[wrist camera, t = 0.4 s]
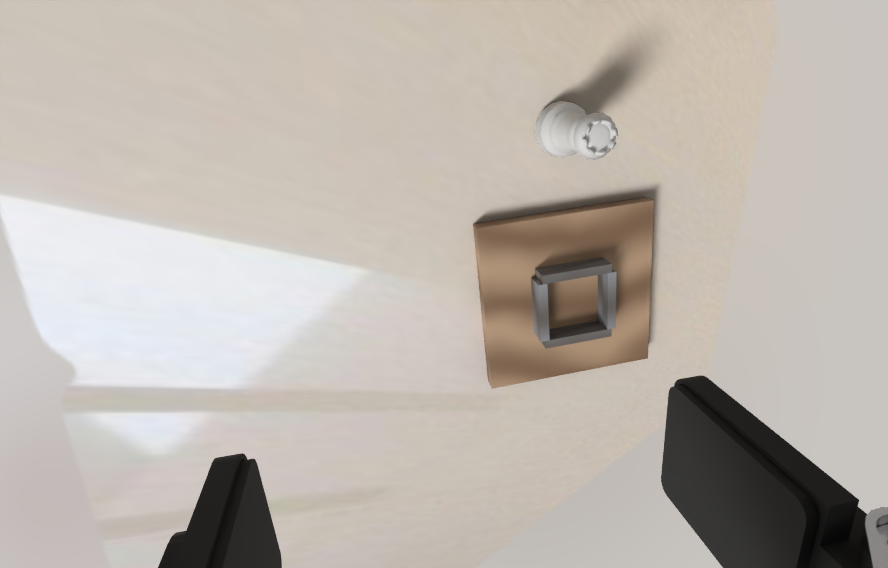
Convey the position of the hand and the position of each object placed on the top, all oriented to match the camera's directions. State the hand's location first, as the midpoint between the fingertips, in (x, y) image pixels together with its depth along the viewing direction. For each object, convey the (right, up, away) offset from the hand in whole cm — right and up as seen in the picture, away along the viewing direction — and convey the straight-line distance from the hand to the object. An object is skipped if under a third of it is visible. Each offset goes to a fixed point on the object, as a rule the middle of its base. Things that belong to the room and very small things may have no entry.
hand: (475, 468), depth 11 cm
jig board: (+11, +3, +37) cm, 39 cm away
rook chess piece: (+9, +17, +32) cm, 37 cm away
